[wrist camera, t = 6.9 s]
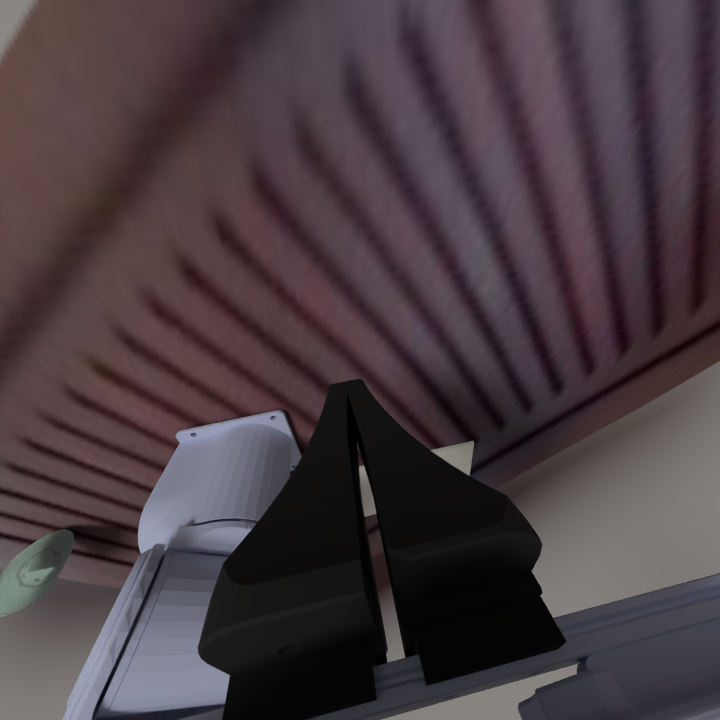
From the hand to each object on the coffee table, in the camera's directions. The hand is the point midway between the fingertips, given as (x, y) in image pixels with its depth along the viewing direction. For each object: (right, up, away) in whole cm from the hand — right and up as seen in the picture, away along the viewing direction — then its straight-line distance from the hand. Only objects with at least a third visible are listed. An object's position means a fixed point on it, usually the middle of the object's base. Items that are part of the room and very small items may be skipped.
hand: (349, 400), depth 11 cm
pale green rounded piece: (-31, -16, +17) cm, 38 cm away
